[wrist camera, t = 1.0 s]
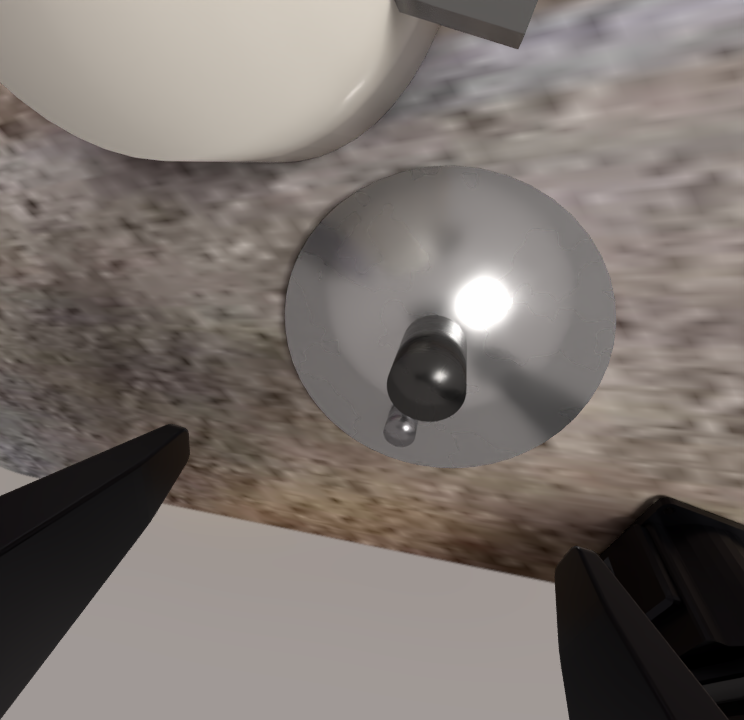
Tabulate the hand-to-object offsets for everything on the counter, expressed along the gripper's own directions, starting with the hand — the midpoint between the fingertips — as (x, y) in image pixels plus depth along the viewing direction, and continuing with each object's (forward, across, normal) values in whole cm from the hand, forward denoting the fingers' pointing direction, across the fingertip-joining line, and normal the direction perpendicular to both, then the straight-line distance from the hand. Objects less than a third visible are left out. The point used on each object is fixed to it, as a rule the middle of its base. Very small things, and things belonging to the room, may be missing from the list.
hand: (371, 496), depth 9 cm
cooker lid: (+11, -1, +1) cm, 12 cm away
